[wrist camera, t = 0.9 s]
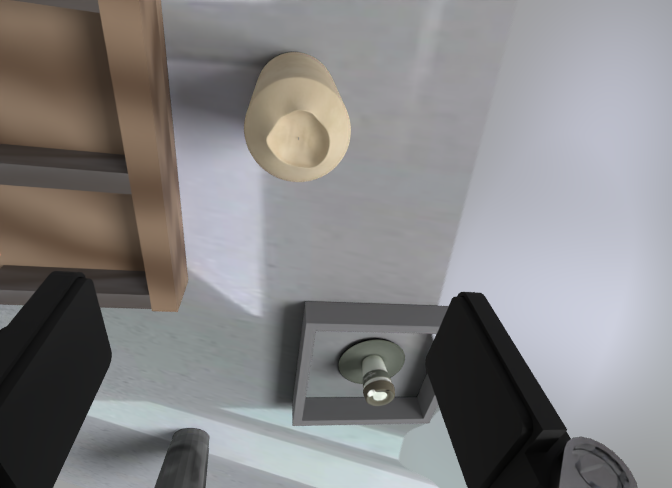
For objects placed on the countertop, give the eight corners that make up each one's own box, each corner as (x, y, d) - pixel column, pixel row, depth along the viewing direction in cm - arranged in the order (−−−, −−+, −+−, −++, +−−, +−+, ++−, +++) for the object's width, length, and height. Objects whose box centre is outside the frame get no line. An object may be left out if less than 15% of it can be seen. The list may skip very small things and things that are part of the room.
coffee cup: (380, 401, 49) (388, 439, 44) (300, 374, 44) (301, 414, 40) (444, 345, 43) (460, 382, 39) (361, 307, 39) (370, 345, 35)
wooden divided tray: (-145, -70, 20) (-230, -80, 17) (158, -21, 22) (136, -22, 19) (4, 273, 33) (-28, 305, 29) (188, 281, 35) (177, 311, 32)
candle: (251, 124, 28) (235, 184, 19) (261, 41, 25) (247, 70, 16) (325, 139, 29) (339, 201, 21) (343, 62, 26) (368, 98, 18)
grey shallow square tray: (305, 301, 38) (306, 323, 35) (464, 306, 41) (475, 327, 38) (292, 402, 47) (292, 425, 45) (422, 401, 50) (429, 423, 47)
